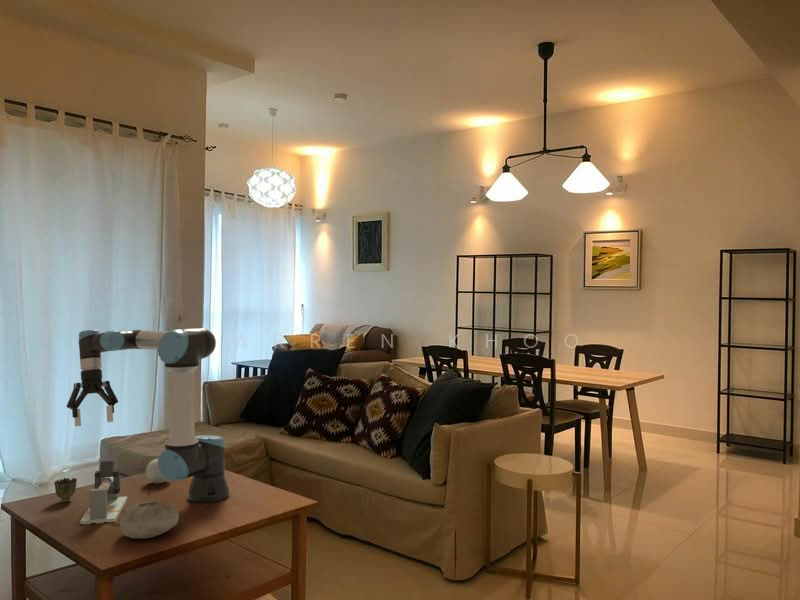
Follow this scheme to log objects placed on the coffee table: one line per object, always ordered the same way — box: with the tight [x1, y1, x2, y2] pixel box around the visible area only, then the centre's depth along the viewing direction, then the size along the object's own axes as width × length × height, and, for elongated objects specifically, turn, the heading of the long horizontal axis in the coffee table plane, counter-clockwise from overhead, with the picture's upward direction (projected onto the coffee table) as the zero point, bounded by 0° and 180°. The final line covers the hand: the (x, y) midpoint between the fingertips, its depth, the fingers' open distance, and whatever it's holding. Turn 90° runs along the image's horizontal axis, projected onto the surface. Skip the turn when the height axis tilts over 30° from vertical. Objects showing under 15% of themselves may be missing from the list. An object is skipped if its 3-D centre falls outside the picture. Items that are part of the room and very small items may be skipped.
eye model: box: [145, 458, 169, 484], centre depth 262 cm, size 10×10×10 cm
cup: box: [53, 477, 78, 504], centre depth 239 cm, size 8×7×8 cm
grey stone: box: [119, 500, 180, 540], centre depth 207 cm, size 18×18×10 cm
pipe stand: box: [79, 477, 128, 525], centre depth 228 cm, size 24×11×11 cm, turn 14°
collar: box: [94, 458, 121, 495], centre depth 233 cm, size 3×8×12 cm, turn 104°
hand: (94, 424), depth 249 cm, fingers open, 13 cm apart
